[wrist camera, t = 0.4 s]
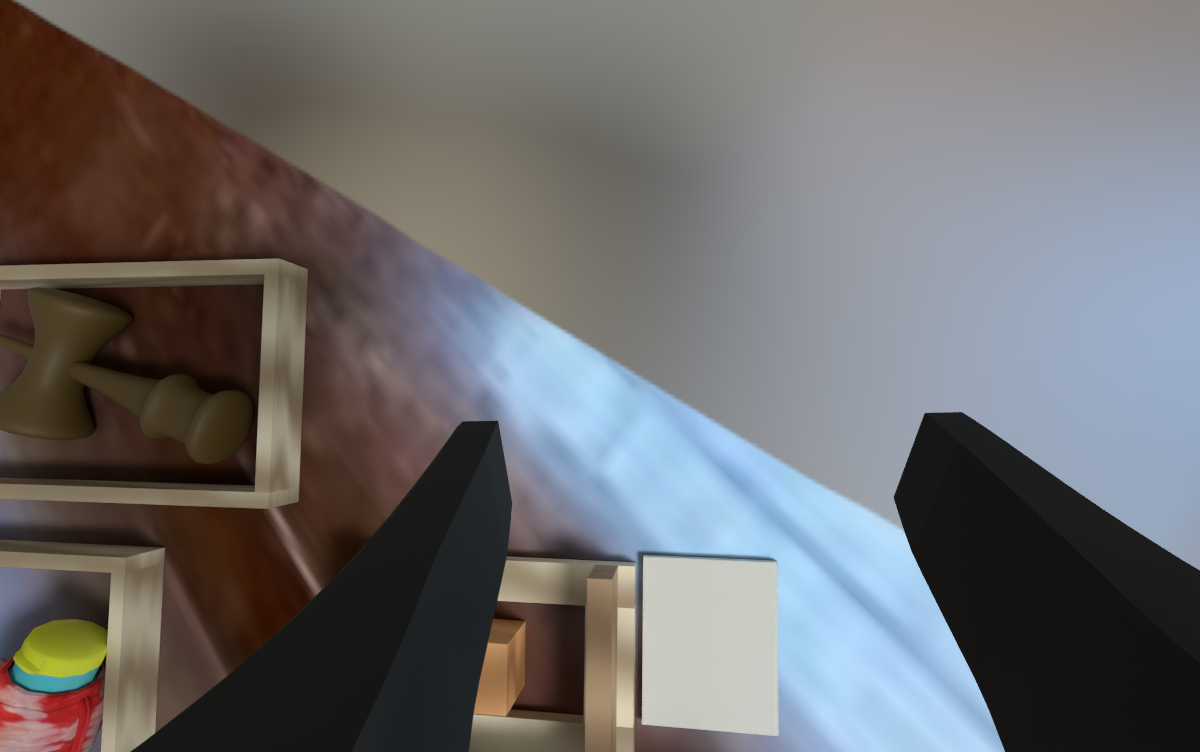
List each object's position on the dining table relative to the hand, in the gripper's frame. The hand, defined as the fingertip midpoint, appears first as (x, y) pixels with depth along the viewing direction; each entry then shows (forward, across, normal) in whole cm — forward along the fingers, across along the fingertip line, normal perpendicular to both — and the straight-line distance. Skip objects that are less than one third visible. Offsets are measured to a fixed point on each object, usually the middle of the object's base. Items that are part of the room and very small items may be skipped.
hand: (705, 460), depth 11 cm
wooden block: (+13, +10, +29) cm, 34 cm away
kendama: (+27, +36, +18) cm, 48 cm away
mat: (+13, -4, +27) cm, 30 cm away
